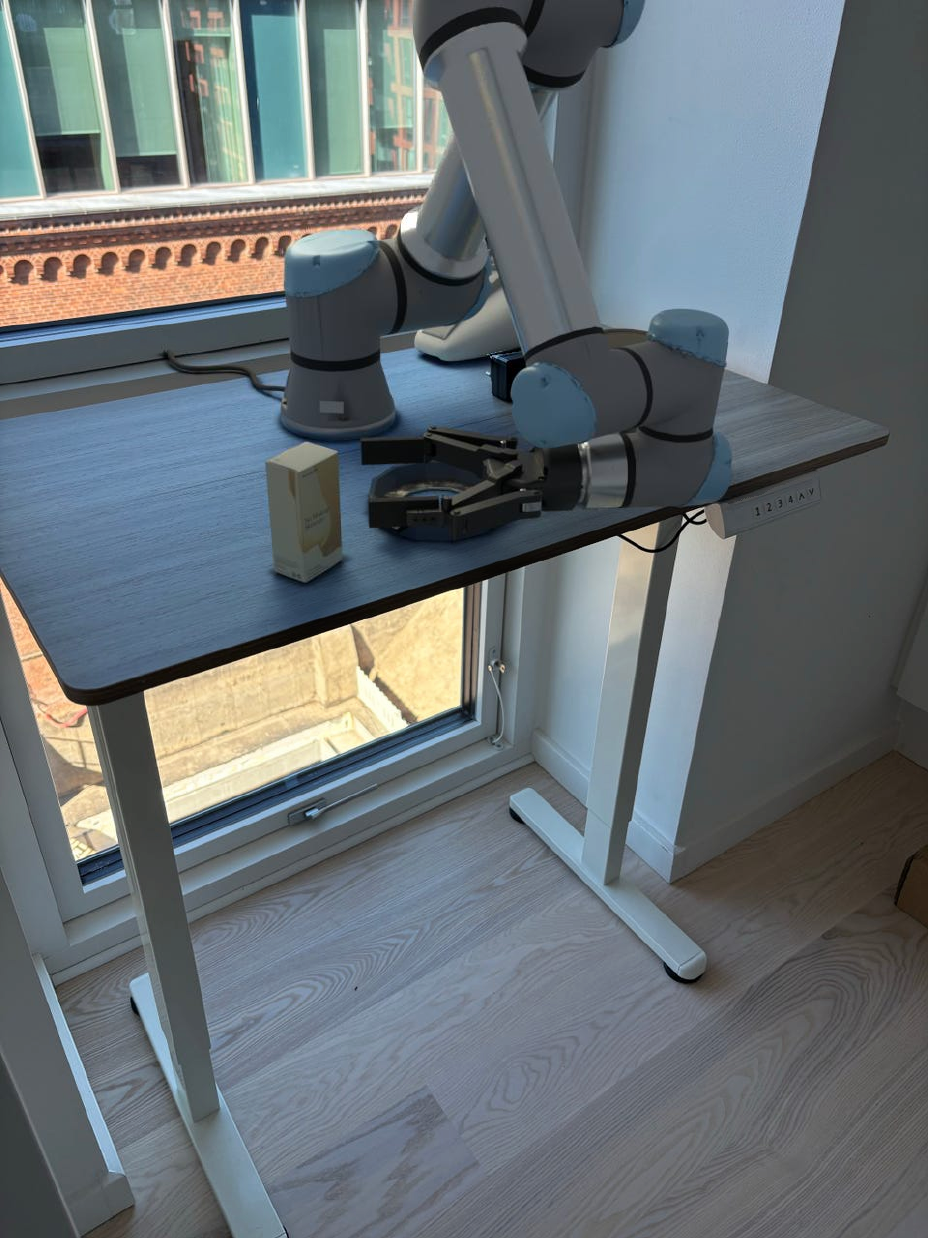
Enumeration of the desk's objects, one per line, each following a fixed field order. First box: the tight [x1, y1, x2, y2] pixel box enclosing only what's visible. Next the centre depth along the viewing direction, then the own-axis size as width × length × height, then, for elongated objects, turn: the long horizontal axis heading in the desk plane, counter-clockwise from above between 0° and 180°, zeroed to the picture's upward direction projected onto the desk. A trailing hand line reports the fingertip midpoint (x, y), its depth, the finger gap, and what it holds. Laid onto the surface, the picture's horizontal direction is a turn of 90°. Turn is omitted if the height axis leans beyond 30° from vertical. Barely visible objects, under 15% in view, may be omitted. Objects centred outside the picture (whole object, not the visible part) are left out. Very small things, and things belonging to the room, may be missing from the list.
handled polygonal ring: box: [368, 460, 491, 542], centre depth 110 cm, size 15×20×2 cm
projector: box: [414, 248, 521, 362], centre depth 154 cm, size 22×23×15 cm
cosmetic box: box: [264, 441, 343, 584], centre depth 96 cm, size 6×4×12 cm
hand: (364, 480), depth 95 cm, fingers open, 13 cm apart
